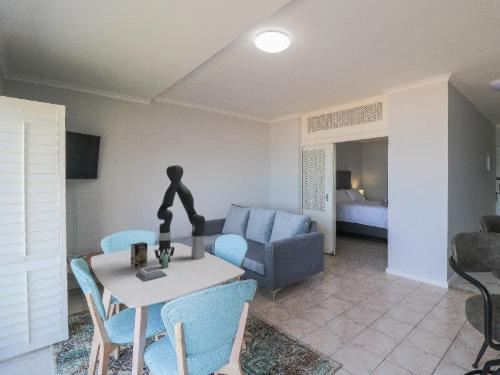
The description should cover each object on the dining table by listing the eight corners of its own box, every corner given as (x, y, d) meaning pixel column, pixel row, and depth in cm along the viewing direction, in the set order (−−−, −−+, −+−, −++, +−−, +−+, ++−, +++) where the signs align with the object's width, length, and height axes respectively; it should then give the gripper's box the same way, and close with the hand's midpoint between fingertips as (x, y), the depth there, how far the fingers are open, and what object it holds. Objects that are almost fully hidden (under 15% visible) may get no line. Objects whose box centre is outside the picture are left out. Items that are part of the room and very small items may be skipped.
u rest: (157, 269, 178) (157, 264, 178) (166, 275, 168) (166, 269, 167) (135, 274, 168) (135, 268, 168) (144, 281, 158) (144, 274, 158)
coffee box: (135, 269, 178) (135, 245, 177) (130, 267, 182) (130, 244, 181) (147, 266, 185) (147, 243, 185) (142, 264, 189) (142, 241, 188)
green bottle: (166, 265, 187) (166, 249, 186) (169, 267, 183) (169, 250, 183) (159, 267, 184) (159, 250, 183) (162, 268, 180) (162, 252, 180)
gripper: (172, 236, 190) (171, 259, 191) (152, 239, 181) (152, 264, 181) (176, 238, 185) (176, 262, 185) (156, 241, 175) (156, 266, 176)
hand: (164, 263), depth 183 cm, fingers closed on green bottle, 4 cm apart
